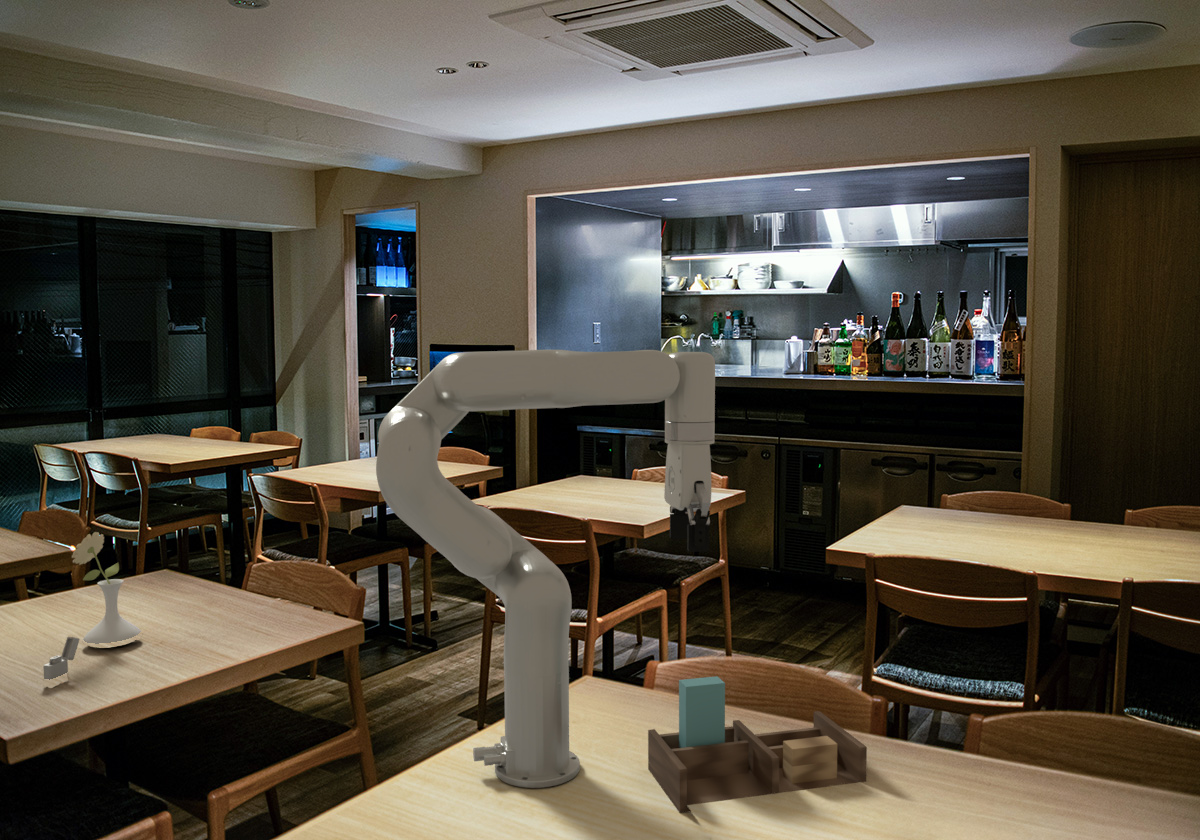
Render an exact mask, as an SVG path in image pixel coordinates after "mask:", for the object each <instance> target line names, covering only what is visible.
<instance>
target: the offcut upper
mask: <svg viewBox="0 0 1200 840" xmlns="http://www.w3.org/2000/svg"><path fill="white" fill-rule="evenodd" d="M783 758H784V759H785V760H786V761H787V762H788V763H789V764H790V765H791V766H792V767H793V766H801V765H809V764H817V763H825V762H833V761H837V743H836V742H834V741H833V740H832V739H831V738H829V737H828V736H821V737H813V738H804V739H796V740H787V741H783Z"/></svg>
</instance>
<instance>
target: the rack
mask: <svg viewBox="0 0 1200 840" xmlns="http://www.w3.org/2000/svg"><path fill="white" fill-rule="evenodd" d="M647 731H648V732H647V738H648V739H647V742H648V743H647V744H648V745H647V751H648V752H647V754H648V755H647V756H648V759H647V764H648V765H647V766H648V767H647V768H648V771H649V772H650V774H651V775H652V777H653V778H654V779H655V781H656V782H657V784H658V785H659V787H660V788H661V789H662V790H663V791H664V793H665V795H666V796H667V797H668V799H669V800H670V801H671V803H672V804H673V806H674V808H676V810H677V811H678V813H679V814H682V813H683V814H684V813H688V812H689V813H690V812H692V810H691V809H690V807H689V806H690V805H698V804H699V805H700V804H705V803H714V802H720V801H721V802H722V801H728V800H736V799H737V800H738V799H743V798H744V799H745V798H751V797H759V796H766V795H773V794H774V795H775V794H781V793H789V792H790V793H791V792H796V791H804V790H812V789H819V788H826V787H835V786H843V785H849V784H856V783H864V782H867V757H868V756H867V754H868V753H867V752H868V751H867V749H868V748H867V746H866V744H864V743H862V742H861V741H859V739H857V738H856V737H854V736H853V735H852V734H850V733H849V731H847V730H845V729H844V728H843V727H841V726H840V725H839V724H837V723H836V722H835V721H833V720H832V719H830V718H829V717H828V716H827V715H825V714H824V713H823V712H821V711H820V710H818V711H817V710H815V711H813V727H807V728H799V729H791V730H781V731H775V732H774V731H772V732H763V733H753V731H752V730H750V728H748V727H747V725H745V724H744V723H743V722H742V721H741V720H739V719H736V720H734V719H733V721H732V725H731V726H725V743H719V744H711V745H702V746H694V747H685V748H679V731H678V732H670V733H669V732H668V733H662V734H659V733H658V731H657V730H656V729H655V728H653V729H648V730H647ZM821 736H828V737H829V738H831V739H832V740H833V741H834V742H836V743H837V778H833V779H825V780H817V781H810V782H802V783H794V784H792V783H791V782H790V781H789V780H788V779H787V778H786V777H785V776H784V775H783V741H787V740H796V739H804V738H813V737H821Z"/></svg>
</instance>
